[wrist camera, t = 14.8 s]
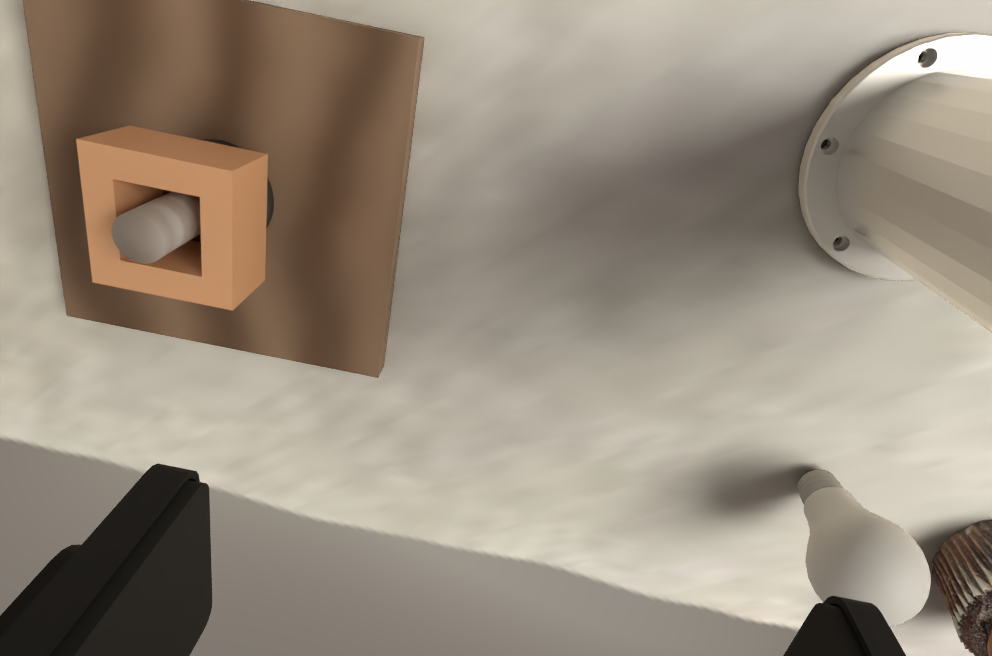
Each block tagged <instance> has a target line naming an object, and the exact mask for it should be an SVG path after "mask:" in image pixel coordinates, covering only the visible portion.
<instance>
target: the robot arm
mask: <svg viewBox="0 0 992 656" xmlns="http://www.w3.org/2000/svg"><path fill="white" fill-rule="evenodd" d="M921 52H922V59H921V60H920V61H919V62H918V57H919V55H920V53H921ZM825 139H827V145H826V146H825V147H823V148H821V144H822V143H823V141H824V140H825ZM798 192H799V199H800V206H801V212H802V214H803V217H804V220H805V222H806V225H807V227H808V230H809V231H810V233H811V234H812V236H813V237H814V239H815V240H816V241H817V243H818V244H819V246H820V247H822V248H823V249H824V250H825V251H826V252H827V253H828V254H829V255H830V256H831V257H832V258H834V259H835V260H837V261H838V262H839V263H841V264H842V265H844V266H845V267H846V268H848V269H850V270H853V271H855V272H858V273H860V274H862V275H865V276H868V277H873V278H878V279H882V280H892V281H912V280H918V281H919V282H921V283H922V284H924V285H925V286H926V287H928V288H929V289H931V290H932V291H934V292H935V293H936V294H938V295H939V296H941V297H942V298H944V299H945V300H946V301H948V302H949V303H951V304H952V305H954V306H955V307H956V308H958V309H959V310H961V311H962V312H964V313H965V314H966V315H968V316H969V317H971V318H972V319H974V320H975V321H976V322H978V323H979V324H981V325H982V326H984V327H985V328H986V329H988V330H989V331H991V332H992V34H984V33H974V32H967V33H946V34H941V35H936V36H931V37H926V38H922V39H919V40H917V41H914V42H911V43H909V44H906V45H904V46H901V47H898V48H896V49H894V50H893V51H891V52H889V53H887V54H886V55H884V56H882V57H881V58H879V59H877V60H875V61H874V62H872V63H871V64H869V65H868V66H867V67H866V68H864V69H863V70H862V71H861V72H860V73H858V74H857V75H856V76H855V77H853V78H852V79H851V80H850V81H849V82H848V83H847V84H846V85H845V86H844V87H843V88H842V89H841V90H840V92H839V93H838V94H837V95H836V96H835V97H834V98H833V99H832V100H831V102H830V103H829V105H828V106H827V107H826V109H825V110H824V112H823V113H822V115H821V116H820V118H819V119H818V121H817V122H816V124H815V127H814V129H813V131H812V133H811V135H810V138H809V140H808V142H807V144H806V147H805V151H804V154H803V158H802V162H801V166H800V173H799V188H798ZM838 237H839V239H838V240H837V241H836V242H834V241H835V239H836V238H838ZM833 242H834V243H833ZM211 579H212V578H211V544H210V507H209V486H208V485H207V484H206V483H201V482H200V480H199V475H198V473H197V472H196V471H192V470H187V469H182V468H177V467H172V466H167V465H162V464H156V465H153V466H152V467H151V468H150V469H149V470H147V472H146V473H145V474H144V475H143V476H142V477H141V478H140V479H139V481H138V482H137V483H136V484H135V485H134V486H133V488H132V489H131V490H130V491H129V492H128V493H127V494H126V495H125V496H124V498H123V499H122V500H121V501H120V502H119V503H118V504H117V506H116V507H115V508H114V509H113V510H112V511H111V512H110V513H109V515H108V516H107V517H106V518H105V519H104V520H103V521H102V523H101V524H100V525H99V526H98V527H97V528H96V529H95V530H94V532H93V533H92V534H91V535H90V536H89V537H88V539H87V540H86V541H85V542H84V543H83V544H82V545H71V546H69V547H67V548H65V549H63V550H62V551H61V552H60V553H58V554H57V555H56V556H55V557H54V558H53V559H52V560H51V561H50V562H49V563H48V564H47V565H46V566H45V568H44V569H43V570H42V571H41V572H40V573H39V574H38V575H37V576H36V577H35V578H34V579H33V581H32V582H31V583H30V584H29V585H28V586H27V587H26V588H25V589H24V590H23V592H22V593H21V594H20V595H19V596H18V597H17V598H16V599H15V600H14V601H13V602H12V604H11V605H10V606H9V607H8V608H7V609H6V610H5V611H4V612H3V613H2V615H1V616H0V656H189V655H190V654H191V652H192V650H193V648H194V646H195V645H196V643H197V641H198V639H199V638H200V636H201V634H202V632H203V630H204V628H205V626H206V624H207V622H208V619H209V616H210V613H211V608H212V580H211ZM784 656H906V655H905V653H904V651H903V650H902V648H901V646H900V644H899V643H898V641H897V639H896V637H895V636H894V634H893V632H892V630H891V628H890V627H889V625H888V623H887V621H886V620H885V618H884V616H883V614H882V613H881V612H880V610H879V609H878V607H876V606H875V605H874V604H872V603H868V602H863V601H858V600H853V599H848V598H843V597H838V596H830V597H828V598H827V599H826V600H825V601H824V602H823V604H822V603H818V604H816V605H815V606H814V607H813V609H812V610H811V612H810V613H809V615H808V617H807V618H806V620H805V622H804V623H803V625H802V626H801V628H800V630H799V631H798V633H797V635H796V636H795V638H794V639H793V641H792V643H791V645H790V646H789V648H788V649H787V651H786V652H785V654H784Z"/></svg>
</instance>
